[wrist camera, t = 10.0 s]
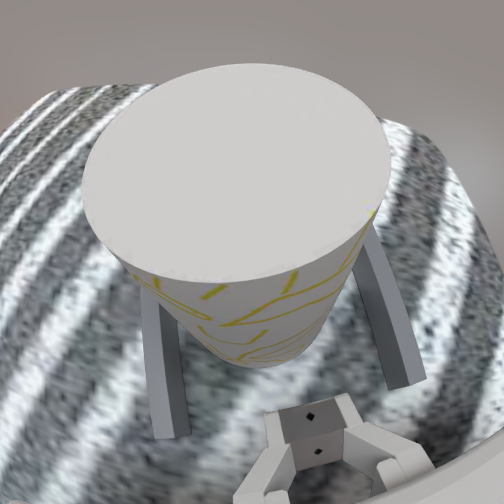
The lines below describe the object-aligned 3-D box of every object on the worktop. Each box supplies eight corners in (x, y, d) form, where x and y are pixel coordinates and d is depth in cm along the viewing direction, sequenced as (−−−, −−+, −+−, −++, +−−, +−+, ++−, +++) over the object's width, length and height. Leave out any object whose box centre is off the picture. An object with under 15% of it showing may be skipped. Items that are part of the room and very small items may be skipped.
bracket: (403, 384, 14) (431, 377, 11) (174, 434, 14) (150, 439, 11) (339, 199, 21) (348, 165, 18) (156, 235, 21) (137, 205, 17)
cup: (193, 375, 16) (55, 303, 5) (187, 248, 20) (114, 90, 9) (339, 354, 16) (445, 248, 5) (311, 231, 20) (332, 57, 9)
